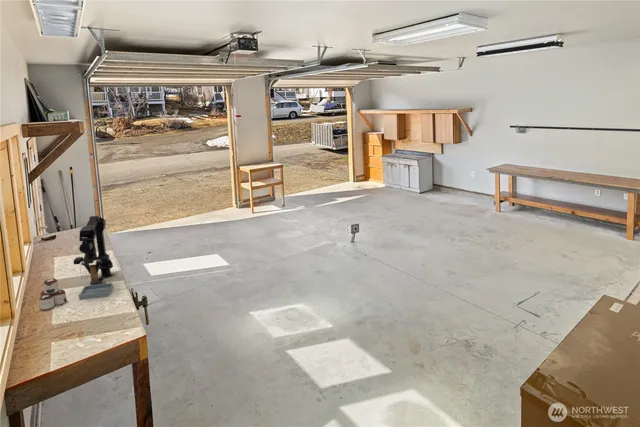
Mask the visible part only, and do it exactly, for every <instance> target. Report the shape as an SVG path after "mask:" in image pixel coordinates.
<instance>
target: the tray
mask: <svg viewBox="0 0 640 427" xmlns="http://www.w3.org/2000/svg"><path fill="white" fill-rule="evenodd" d="M113 288H114V283H113V282H109V283H104V284H98V285H84V286H83V288H82V289H81V291H80V293H79V294H78V298H79V299H78V300H79V301H82V300H91V299H99V298H106V297H110V294H111V292H112V291H113Z"/></svg>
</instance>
